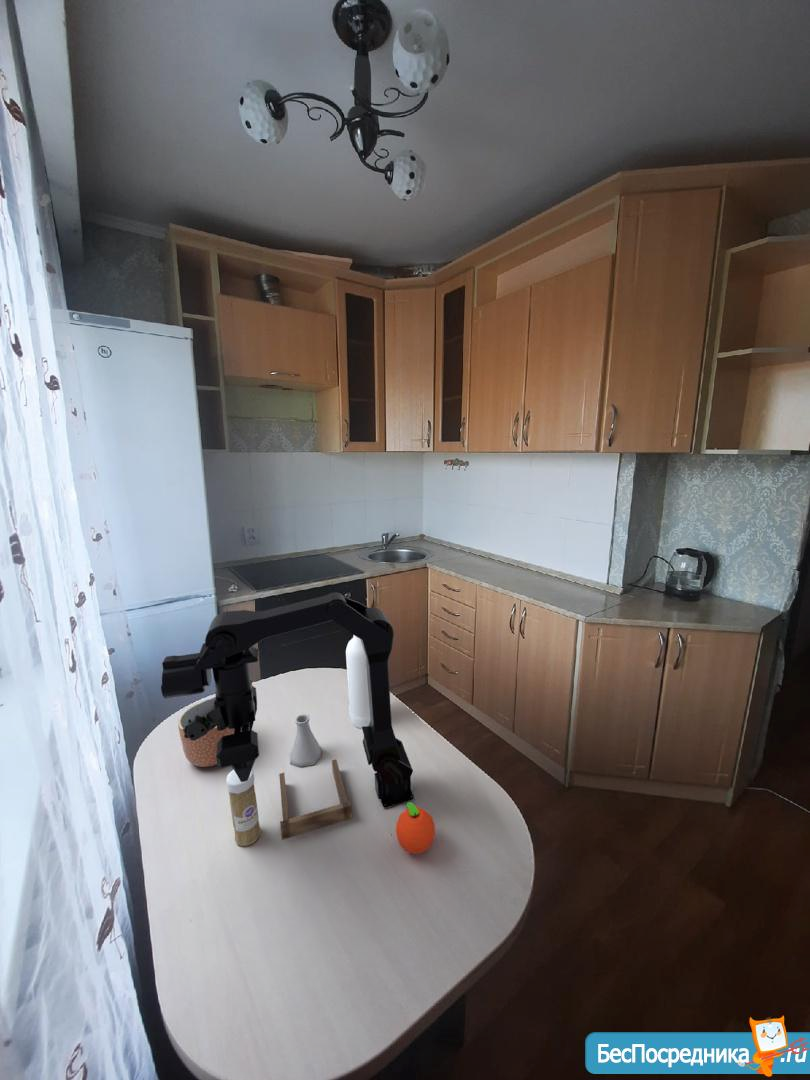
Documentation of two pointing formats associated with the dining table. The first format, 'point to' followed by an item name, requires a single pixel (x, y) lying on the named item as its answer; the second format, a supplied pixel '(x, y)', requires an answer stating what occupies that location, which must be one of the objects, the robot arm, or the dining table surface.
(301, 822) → the bay
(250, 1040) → the dining table surface
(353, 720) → the bottle
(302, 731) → the flask
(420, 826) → the clementine
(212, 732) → the planter
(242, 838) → the sprinkles bottle
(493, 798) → the dining table surface
